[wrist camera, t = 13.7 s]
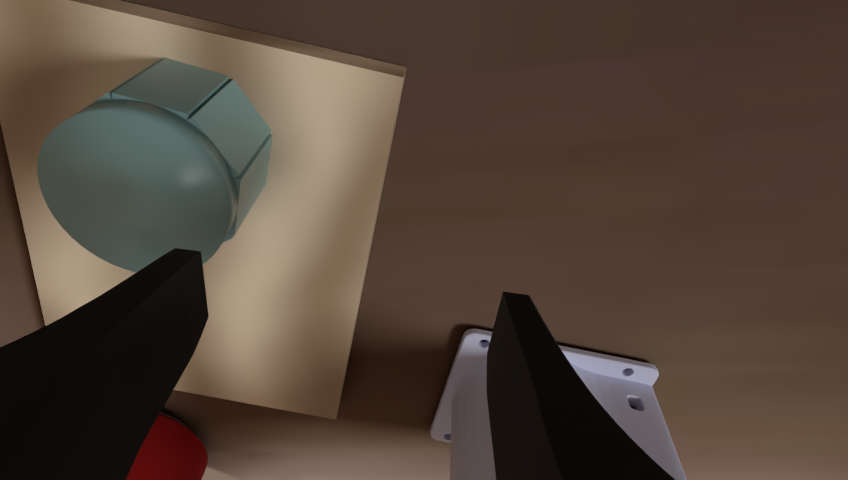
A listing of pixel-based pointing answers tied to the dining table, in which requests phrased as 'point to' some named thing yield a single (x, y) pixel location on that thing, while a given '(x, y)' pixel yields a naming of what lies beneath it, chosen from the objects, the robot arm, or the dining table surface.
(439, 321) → the dining table surface
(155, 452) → the beverage can
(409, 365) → the dining table surface
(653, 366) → the robot arm
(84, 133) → the cap
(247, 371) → the stud plate
